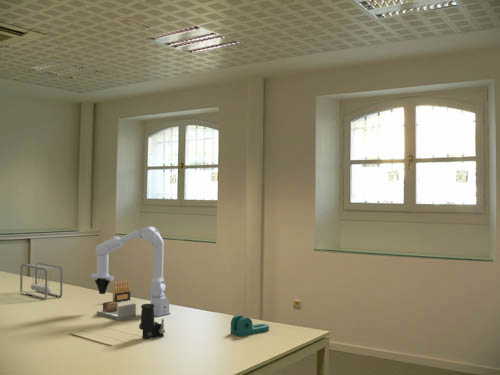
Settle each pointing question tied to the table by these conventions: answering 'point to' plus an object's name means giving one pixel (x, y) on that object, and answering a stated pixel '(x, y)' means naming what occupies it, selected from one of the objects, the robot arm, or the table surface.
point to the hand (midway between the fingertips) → (102, 293)
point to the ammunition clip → (121, 291)
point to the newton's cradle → (40, 287)
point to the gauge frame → (121, 312)
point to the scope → (150, 323)
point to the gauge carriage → (110, 306)
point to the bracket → (246, 326)
